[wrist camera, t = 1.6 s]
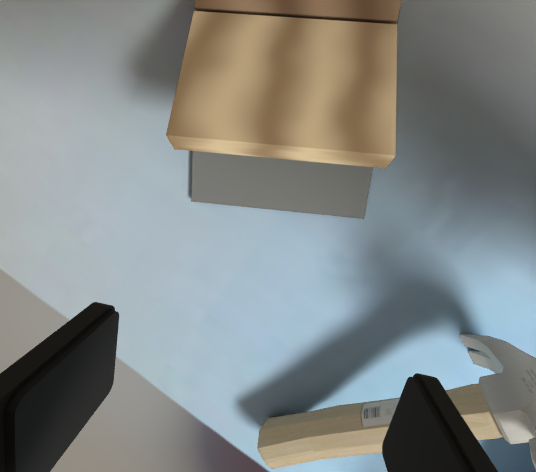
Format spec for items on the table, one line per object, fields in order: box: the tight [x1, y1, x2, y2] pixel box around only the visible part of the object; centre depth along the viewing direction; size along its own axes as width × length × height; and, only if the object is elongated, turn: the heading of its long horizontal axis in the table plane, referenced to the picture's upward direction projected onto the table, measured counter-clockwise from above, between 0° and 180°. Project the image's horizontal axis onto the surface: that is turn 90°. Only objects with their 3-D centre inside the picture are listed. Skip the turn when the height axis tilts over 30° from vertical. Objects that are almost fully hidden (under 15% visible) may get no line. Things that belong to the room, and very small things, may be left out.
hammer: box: [258, 334, 536, 470], centre depth 33 cm, size 16×5×30 cm
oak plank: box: [166, 11, 397, 168], centre depth 26 cm, size 17×12×2 cm
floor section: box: [191, 0, 401, 219], centre depth 28 cm, size 18×30×3 cm, turn 175°
